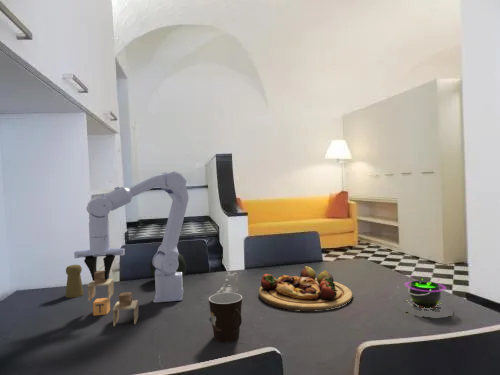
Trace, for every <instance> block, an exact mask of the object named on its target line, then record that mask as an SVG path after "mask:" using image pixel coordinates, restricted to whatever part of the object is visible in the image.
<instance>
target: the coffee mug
mask: <svg viewBox="0 0 500 375" xmlns="http://www.w3.org/2000/svg"><path fill="white" fill-rule="evenodd" d="M242 304H243V295H241V294H239V293H219V294H216V293H215V294H212V295H210V296H209V297H208V305H209V311H210V317H211V318H210V319H211V323H212V324H211V325H212V326H211V327H212V332H213V338H214V340H215V341H217V342H219V343H231V342H235V341H236V339H237V340H238V338H239V337H240V327H241V326H242V322H243V321H242V315H241V314H242Z"/></svg>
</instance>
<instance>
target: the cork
mask: <svg viewBox="0 0 500 375" xmlns="http://www.w3.org/2000/svg"><path fill="white" fill-rule="evenodd" d="M82 270H83V269H82V266H81V265H80V264H71V265H68V266H67V267H66V268H65V274H66V275H67V280H66V287H65V298H69V299H72V298H73V299H74V298H78V297H82V296H84V288H83V283H82V277H81V273H82Z"/></svg>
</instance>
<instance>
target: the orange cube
mask: <svg viewBox="0 0 500 375" xmlns="http://www.w3.org/2000/svg"><path fill="white" fill-rule="evenodd" d="M110 311H111V298H110V299H109V300H108V297H101V298H96V299H95V300H94V301H93V302H92V315H93V316H94V317H95V316H106V315H108V313H109V312H110Z"/></svg>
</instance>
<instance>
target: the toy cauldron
mask: <svg viewBox="0 0 500 375" xmlns="http://www.w3.org/2000/svg"><path fill="white" fill-rule="evenodd" d="M419 272H420V271H419V270H418V271H417V273H419ZM430 274H431V278H433V277H434V276H432V274H433V272H429V274H423V276H426V277H427V276H429V277H430ZM413 276H415V275H410V278H411V279H412V280H411V281H410V280H409V281H406V282H405V283H404V284H403V285H404V286H405V287H406V288H408V289H407V291H408V294H409V297H410V299H409V300H410V301H411V302H408V303H409V304H410V307H413V308H414V309H415V310H419V311H421V310H422V309H421V308H424V307H425V308H430V307H431V308H433V309H430V310H432V311H435V312H440V310H439V309H441V307H435V306H436V305H437V306H440V305H439V304H438V303H440V301H441V298H442V292H443V291H445V290H446V289H447V287H446V286H444V284H441V283H438V282H439V281H440V279H437V280H436V281H429V280H424V279H423V278H421V280H415V279H414V278H412V277H413ZM409 284H410V285H409ZM412 302H414V303H415V304H417V305H419V307H417V306H416V305H415V304H411V303H412ZM436 308H437V309H436ZM424 311H429V310H427V309H424Z"/></svg>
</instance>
